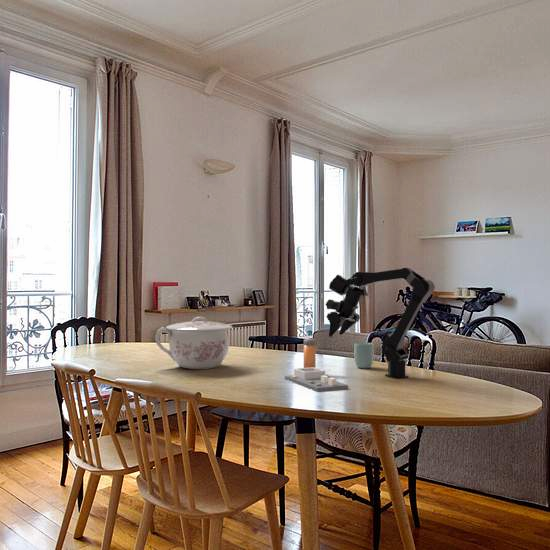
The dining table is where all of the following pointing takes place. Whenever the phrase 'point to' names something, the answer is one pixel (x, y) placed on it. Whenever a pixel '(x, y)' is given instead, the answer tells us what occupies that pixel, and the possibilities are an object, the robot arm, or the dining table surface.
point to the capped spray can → (309, 353)
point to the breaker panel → (315, 379)
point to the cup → (363, 354)
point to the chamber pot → (196, 343)
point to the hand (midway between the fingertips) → (335, 335)
